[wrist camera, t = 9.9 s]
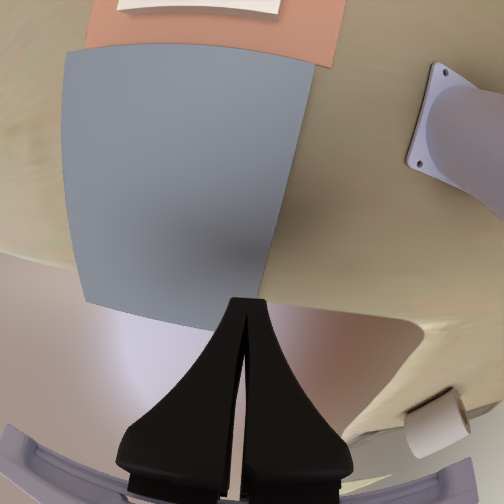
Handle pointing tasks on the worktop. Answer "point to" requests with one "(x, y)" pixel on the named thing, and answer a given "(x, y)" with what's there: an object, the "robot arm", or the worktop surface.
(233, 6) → the white rectangular block
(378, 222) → the worktop surface
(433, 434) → the toilet paper
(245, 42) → the terracotta mat
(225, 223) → the plate
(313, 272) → the worktop surface
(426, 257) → the worktop surface
